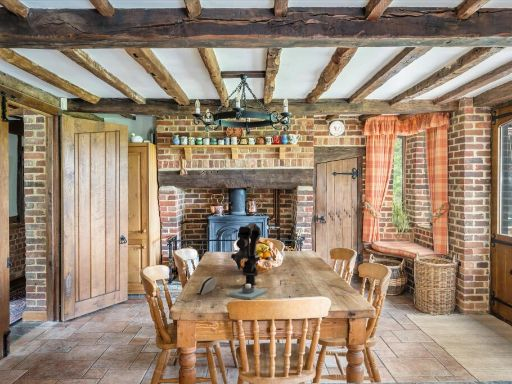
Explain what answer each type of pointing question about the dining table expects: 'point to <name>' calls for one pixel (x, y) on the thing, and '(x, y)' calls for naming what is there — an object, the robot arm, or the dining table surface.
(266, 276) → the dining table surface
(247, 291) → the ring
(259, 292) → the piston plate
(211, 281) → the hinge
